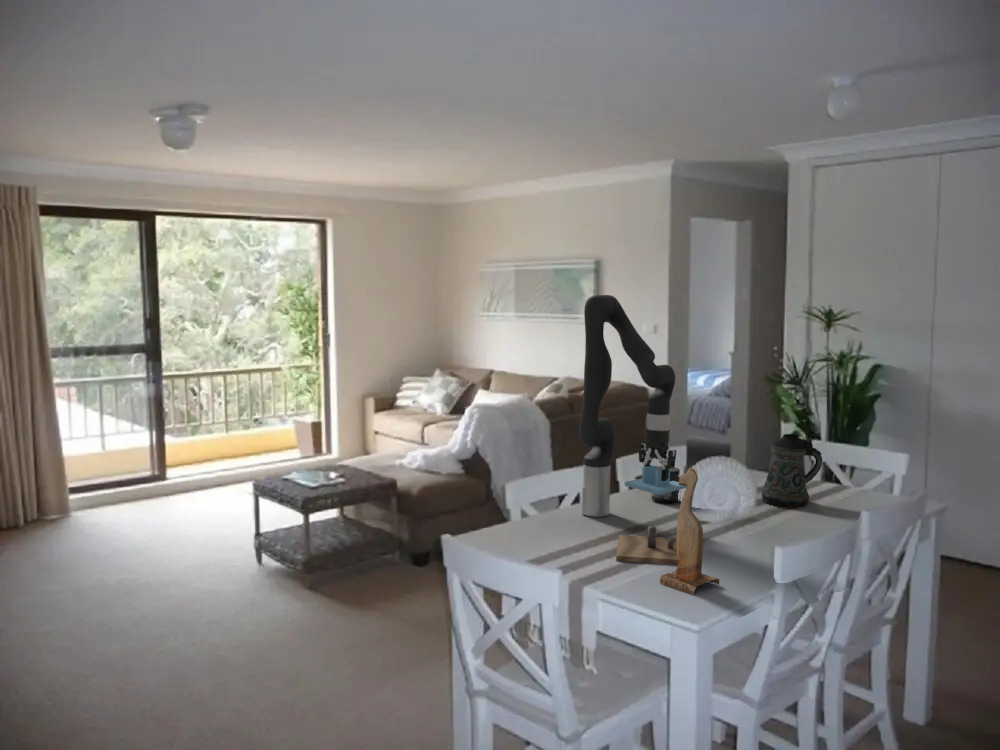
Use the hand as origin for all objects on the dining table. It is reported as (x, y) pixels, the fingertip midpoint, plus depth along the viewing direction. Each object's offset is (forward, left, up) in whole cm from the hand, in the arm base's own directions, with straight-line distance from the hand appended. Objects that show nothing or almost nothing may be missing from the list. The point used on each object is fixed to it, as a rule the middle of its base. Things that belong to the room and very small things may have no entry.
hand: (656, 478), depth 266 cm
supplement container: (+4, +37, -17) cm, 41 cm away
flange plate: (0, 0, -3) cm, 3 cm away
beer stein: (+48, +44, -17) cm, 67 cm away
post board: (-1, -23, -17) cm, 29 cm away
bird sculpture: (+9, -48, -17) cm, 52 cm away
